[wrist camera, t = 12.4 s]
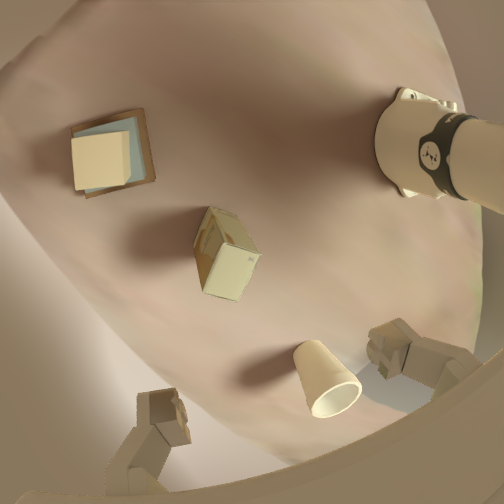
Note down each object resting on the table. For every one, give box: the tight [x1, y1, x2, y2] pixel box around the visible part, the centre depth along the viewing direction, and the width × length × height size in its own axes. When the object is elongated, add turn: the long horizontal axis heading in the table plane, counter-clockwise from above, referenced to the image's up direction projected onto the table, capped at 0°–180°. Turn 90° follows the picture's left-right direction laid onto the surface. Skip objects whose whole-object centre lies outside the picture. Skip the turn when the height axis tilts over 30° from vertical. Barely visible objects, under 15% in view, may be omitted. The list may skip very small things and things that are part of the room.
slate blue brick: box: [74, 117, 146, 193], centre depth 30 cm, size 7×7×3 cm
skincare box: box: [193, 207, 261, 302], centre depth 36 cm, size 6×4×12 cm
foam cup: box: [293, 340, 362, 418], centre depth 50 cm, size 10×9×13 cm
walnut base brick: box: [71, 108, 156, 199], centre depth 33 cm, size 9×9×3 cm
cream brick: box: [71, 131, 131, 191], centre depth 27 cm, size 5×5×5 cm
